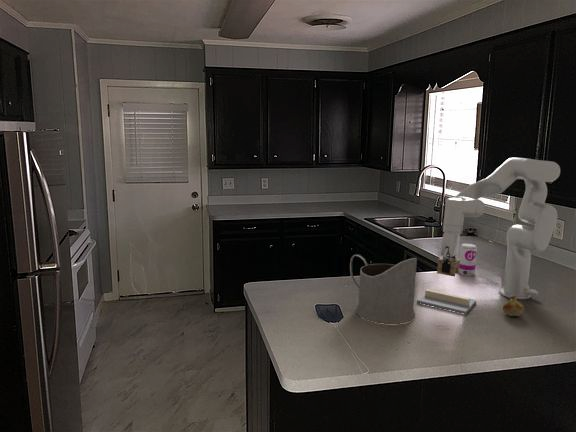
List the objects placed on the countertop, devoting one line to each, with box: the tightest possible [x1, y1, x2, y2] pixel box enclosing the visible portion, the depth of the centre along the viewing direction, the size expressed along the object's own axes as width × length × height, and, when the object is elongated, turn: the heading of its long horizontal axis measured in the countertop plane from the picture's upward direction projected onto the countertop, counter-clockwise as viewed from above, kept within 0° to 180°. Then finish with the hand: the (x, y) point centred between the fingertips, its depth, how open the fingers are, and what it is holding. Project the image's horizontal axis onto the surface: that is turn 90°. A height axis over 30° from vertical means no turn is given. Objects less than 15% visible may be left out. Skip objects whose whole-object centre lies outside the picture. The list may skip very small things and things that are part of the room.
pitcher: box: [349, 254, 418, 324], centre depth 189 cm, size 23×32×25 cm
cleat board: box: [416, 289, 477, 315], centre depth 199 cm, size 20×16×4 cm
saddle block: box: [436, 256, 460, 277], centre depth 196 cm, size 7×6×6 cm
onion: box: [502, 296, 525, 317], centre depth 187 cm, size 8×8×8 cm
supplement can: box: [458, 242, 478, 277], centre depth 240 cm, size 8×8×15 cm
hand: (448, 270), depth 197 cm, fingers closed on saddle block, 6 cm apart
